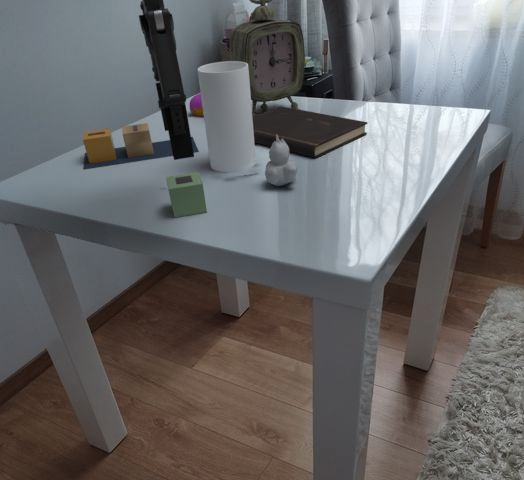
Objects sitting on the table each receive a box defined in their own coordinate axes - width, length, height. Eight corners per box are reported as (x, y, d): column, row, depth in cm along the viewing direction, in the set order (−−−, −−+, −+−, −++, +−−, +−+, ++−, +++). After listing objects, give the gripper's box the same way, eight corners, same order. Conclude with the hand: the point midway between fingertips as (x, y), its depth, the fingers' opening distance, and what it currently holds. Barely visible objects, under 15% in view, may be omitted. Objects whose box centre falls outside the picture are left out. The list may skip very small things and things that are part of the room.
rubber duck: (282, 175, 86) (280, 126, 81) (308, 185, 82) (307, 134, 77) (257, 184, 84) (253, 134, 79) (283, 195, 80) (280, 143, 75)
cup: (255, 173, 88) (247, 70, 78) (208, 175, 88) (194, 74, 78) (256, 156, 94) (249, 59, 84) (213, 159, 95) (200, 63, 84)
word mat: (83, 172, 95) (82, 169, 94) (85, 155, 102) (84, 152, 102) (199, 154, 98) (199, 151, 97) (192, 139, 105) (192, 136, 105)
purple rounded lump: (214, 104, 124) (212, 84, 121) (243, 110, 119) (241, 89, 116) (182, 115, 119) (179, 94, 116) (211, 122, 113) (208, 100, 110)
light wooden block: (128, 158, 97) (122, 133, 94) (127, 150, 101) (121, 126, 98) (154, 154, 98) (148, 129, 95) (152, 146, 102) (147, 122, 99)
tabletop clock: (249, 123, 110) (237, -17, 94) (231, 114, 117) (217, -19, 101) (305, 110, 115) (303, -26, 99) (285, 102, 121) (280, -27, 105)
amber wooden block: (89, 164, 96) (82, 139, 93) (90, 155, 100) (83, 131, 97) (116, 159, 97) (109, 135, 94) (115, 151, 101) (109, 127, 98)
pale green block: (174, 217, 76) (168, 188, 74) (171, 204, 80) (165, 176, 77) (207, 212, 77) (202, 182, 74) (202, 199, 81) (198, 171, 78)
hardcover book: (281, 117, 112) (280, 106, 111) (366, 134, 99) (367, 122, 98) (228, 137, 104) (227, 125, 103) (314, 159, 91) (314, 146, 90)
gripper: (188, -47, 50) (218, 167, 63) (166, -50, 69) (193, 115, 82) (112, -39, 49) (159, 177, 62) (111, -44, 68) (147, 122, 81)
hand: (178, 142), depth 72 cm, fingers open, 13 cm apart
